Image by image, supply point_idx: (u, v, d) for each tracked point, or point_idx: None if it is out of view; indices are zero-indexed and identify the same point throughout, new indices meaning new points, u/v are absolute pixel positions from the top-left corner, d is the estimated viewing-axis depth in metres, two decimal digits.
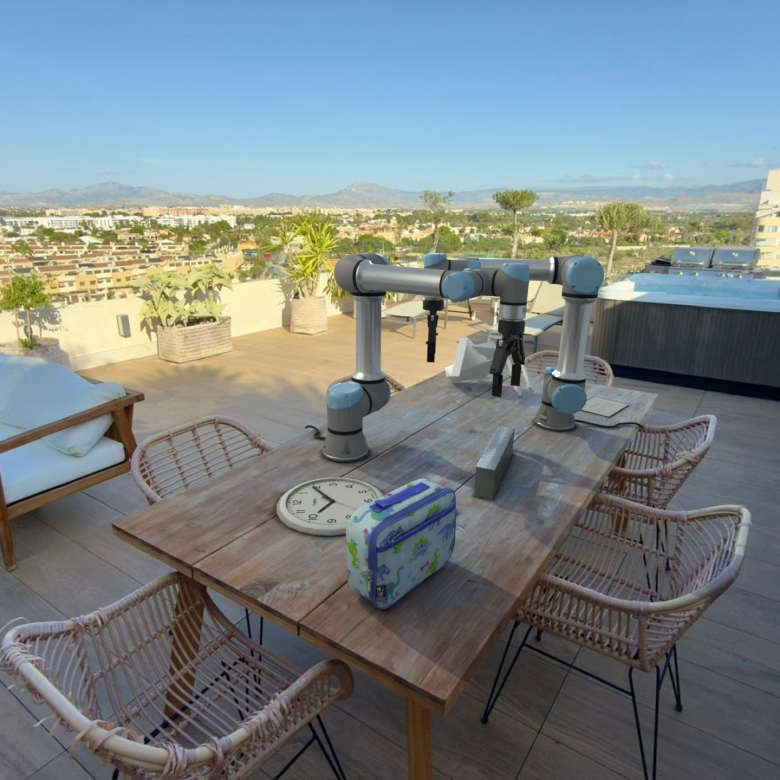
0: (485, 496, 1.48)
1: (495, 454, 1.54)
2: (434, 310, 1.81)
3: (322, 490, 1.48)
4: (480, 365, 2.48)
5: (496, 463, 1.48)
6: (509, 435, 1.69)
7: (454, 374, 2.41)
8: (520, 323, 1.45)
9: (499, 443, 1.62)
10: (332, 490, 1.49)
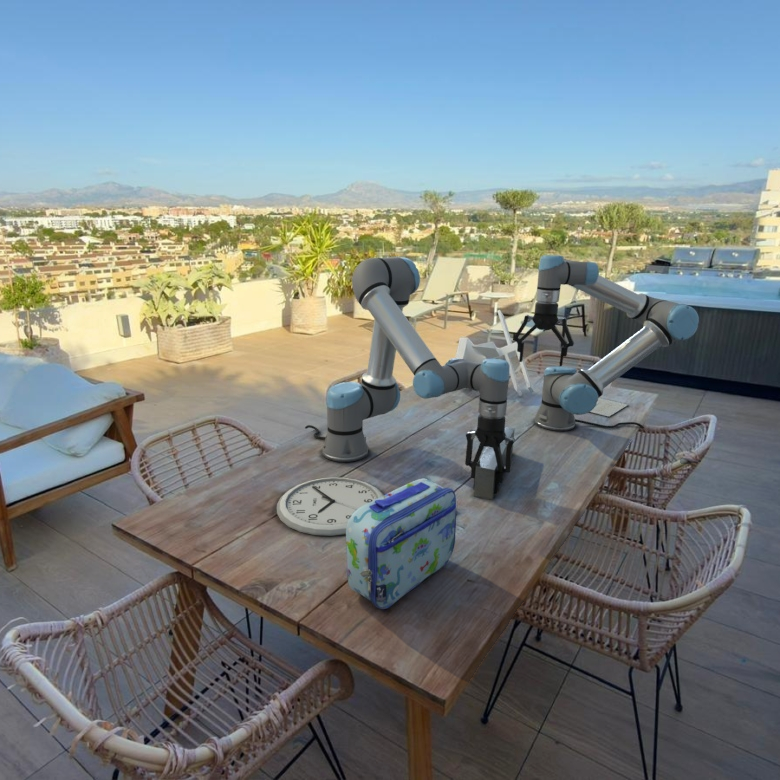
0: (485, 496, 1.48)
1: None
2: None
3: (322, 490, 1.48)
4: None
5: (496, 463, 1.48)
6: (509, 435, 1.69)
7: None
8: (483, 419, 1.43)
9: None
10: (332, 490, 1.49)
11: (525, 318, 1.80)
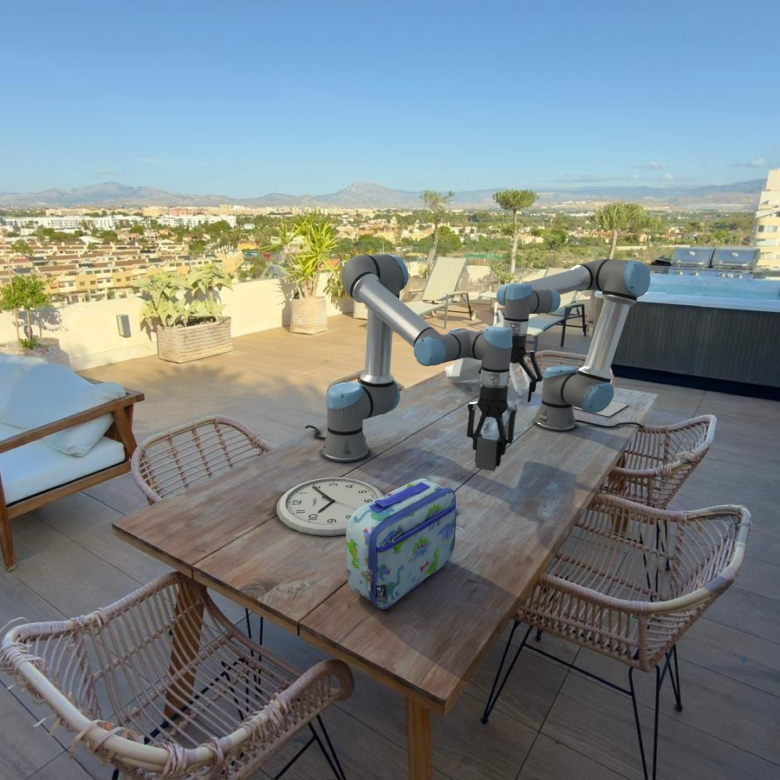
0: (487, 468, 1.45)
1: (497, 426, 1.52)
2: (525, 345, 1.64)
3: (322, 490, 1.48)
4: (480, 365, 2.48)
5: (498, 434, 1.46)
6: None
7: (454, 374, 2.41)
8: (485, 389, 1.40)
9: None
10: (332, 490, 1.49)
11: None
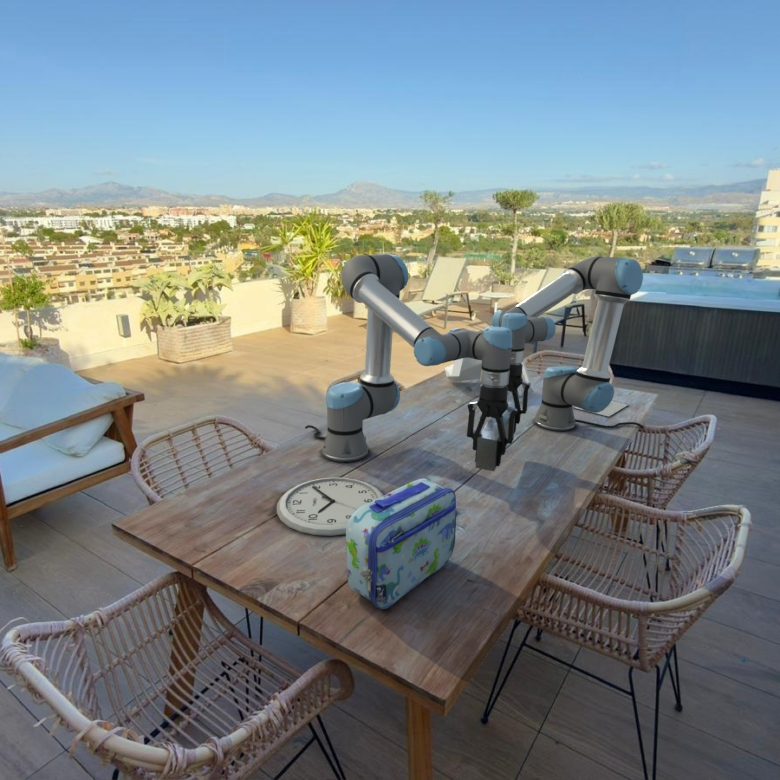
0: (487, 468, 1.45)
1: (497, 426, 1.52)
2: (521, 374, 1.66)
3: (322, 490, 1.48)
4: (480, 365, 2.48)
5: (498, 434, 1.46)
6: None
7: (454, 374, 2.41)
8: (485, 389, 1.40)
9: None
10: (332, 490, 1.49)
11: None
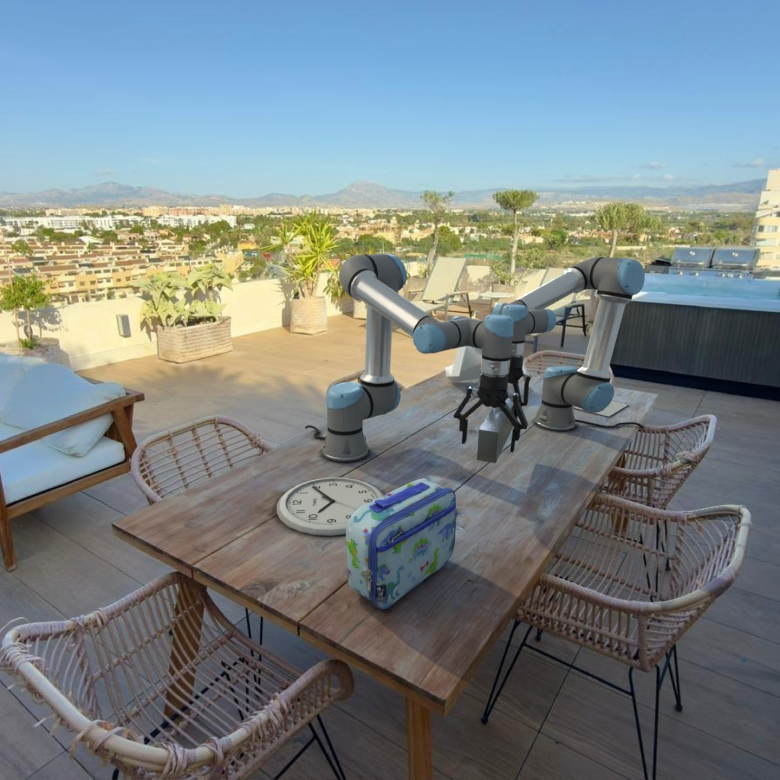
0: (488, 460, 1.44)
1: (498, 418, 1.51)
2: (522, 366, 1.65)
3: (322, 490, 1.48)
4: (480, 365, 2.48)
5: (499, 426, 1.45)
6: (512, 402, 1.65)
7: (454, 374, 2.41)
8: (485, 378, 1.38)
9: None
10: (332, 490, 1.49)
11: None
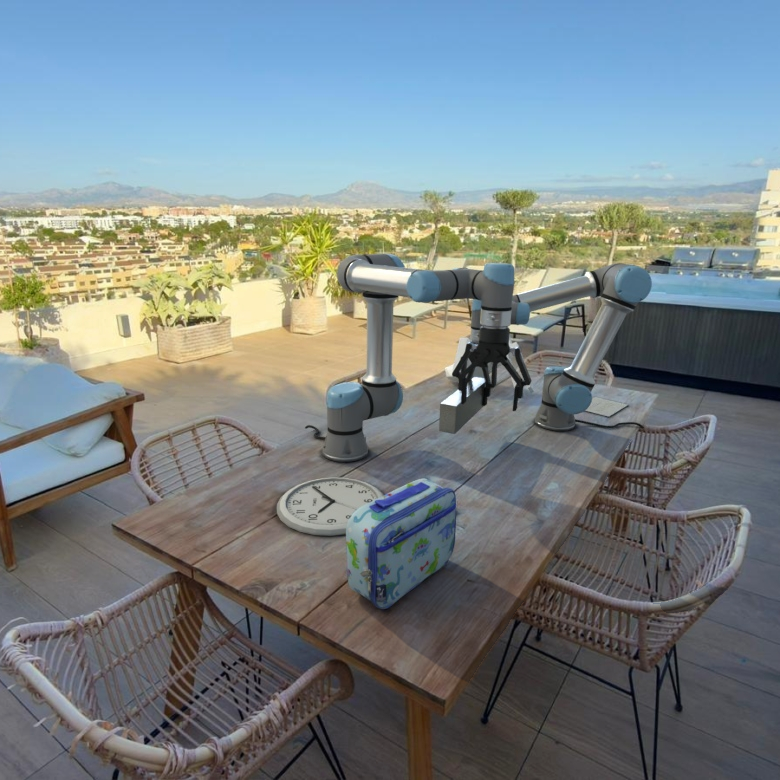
0: (448, 431, 1.63)
1: None
2: None
3: (322, 490, 1.48)
4: None
5: (459, 401, 1.64)
6: (481, 383, 1.83)
7: None
8: (485, 330, 1.29)
9: (469, 389, 1.77)
10: (332, 490, 1.49)
11: None
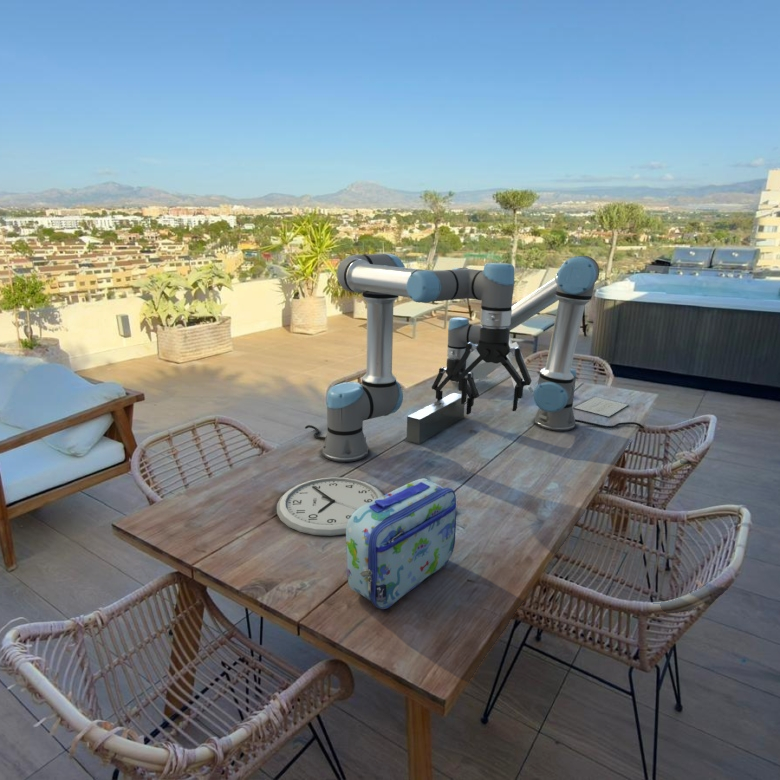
0: (414, 441, 1.85)
1: (430, 410, 1.91)
2: (465, 368, 2.01)
3: (322, 490, 1.48)
4: (480, 365, 2.48)
5: (425, 415, 1.85)
6: (455, 399, 2.03)
7: None
8: (485, 330, 1.29)
9: (441, 404, 1.97)
10: (332, 490, 1.49)
11: (439, 370, 2.06)
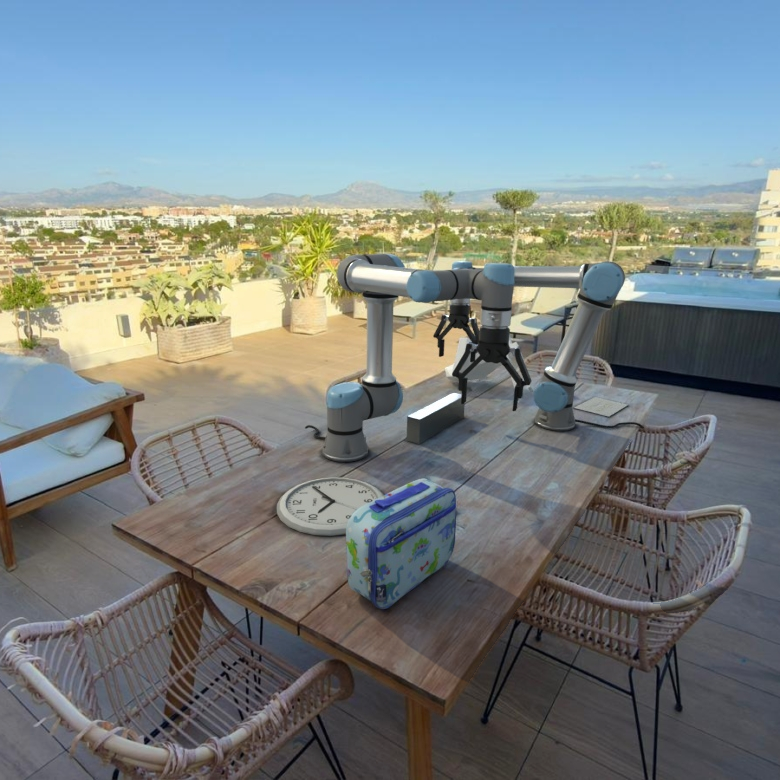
0: (414, 441, 1.85)
1: (430, 410, 1.91)
2: (468, 314, 1.95)
3: (322, 490, 1.48)
4: (480, 365, 2.48)
5: (425, 415, 1.85)
6: (455, 399, 2.03)
7: None
8: (485, 330, 1.29)
9: (441, 404, 1.97)
10: (332, 490, 1.49)
11: (442, 317, 2.00)
